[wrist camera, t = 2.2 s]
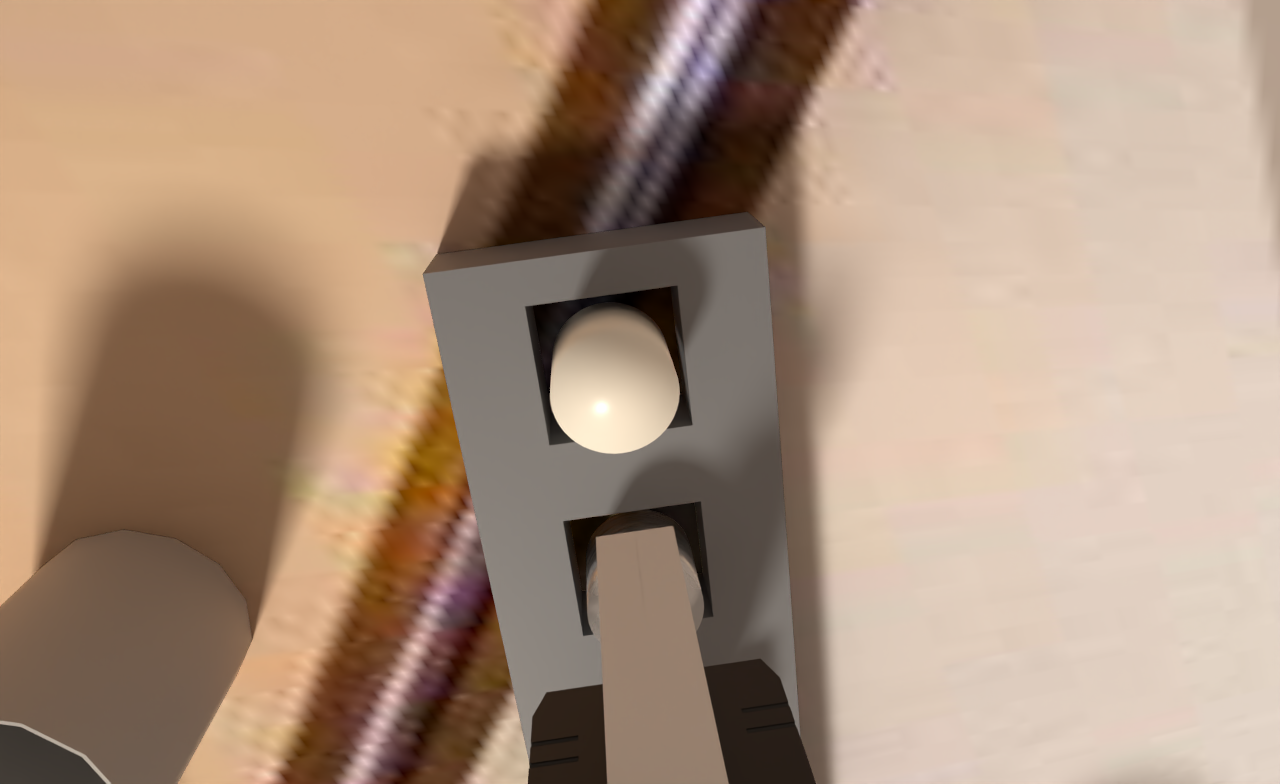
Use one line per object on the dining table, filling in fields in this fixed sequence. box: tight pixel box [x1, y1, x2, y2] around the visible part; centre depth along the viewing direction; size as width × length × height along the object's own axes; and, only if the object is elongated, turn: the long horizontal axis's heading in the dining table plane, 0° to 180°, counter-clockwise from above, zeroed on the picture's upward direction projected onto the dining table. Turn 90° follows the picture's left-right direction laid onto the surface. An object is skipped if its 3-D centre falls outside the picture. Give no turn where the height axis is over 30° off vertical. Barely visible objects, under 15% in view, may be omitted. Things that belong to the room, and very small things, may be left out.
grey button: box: [586, 510, 704, 643], centre depth 31 cm, size 4×4×4 cm
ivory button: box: [550, 302, 680, 454], centre depth 28 cm, size 4×4×4 cm
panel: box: [423, 212, 801, 760], centre depth 33 cm, size 30×11×6 cm, turn 7°
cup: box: [0, 530, 252, 784], centre depth 30 cm, size 8×8×10 cm
